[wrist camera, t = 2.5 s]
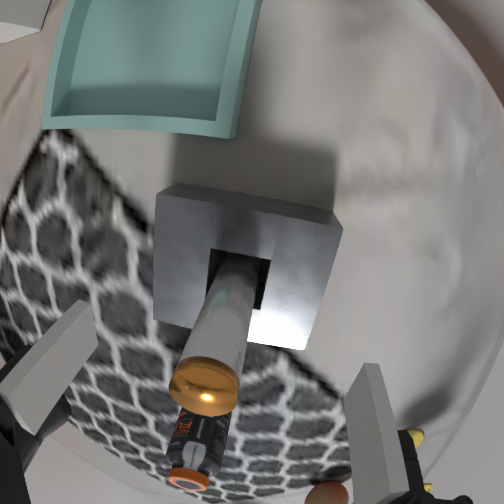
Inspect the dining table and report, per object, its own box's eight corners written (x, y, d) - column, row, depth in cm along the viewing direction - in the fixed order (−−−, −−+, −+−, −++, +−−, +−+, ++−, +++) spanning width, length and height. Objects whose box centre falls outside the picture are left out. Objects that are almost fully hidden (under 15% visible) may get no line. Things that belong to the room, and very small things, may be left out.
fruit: (355, 480, 39) (358, 514, 32) (323, 492, 42) (324, 524, 35) (329, 473, 38) (330, 511, 31) (296, 485, 41) (295, 520, 33)
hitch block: (169, 293, 26) (153, 319, 22) (176, 182, 22) (156, 193, 18) (301, 320, 25) (304, 350, 22) (333, 211, 21) (343, 228, 18)
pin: (224, 268, 24) (169, 406, 11) (228, 237, 23) (167, 365, 10) (257, 275, 24) (232, 421, 11) (264, 243, 23) (241, 382, 10)
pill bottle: (194, 384, 30) (166, 468, 20) (240, 404, 31) (226, 488, 21) (178, 407, 33) (152, 480, 22) (220, 425, 33) (204, 498, 23)
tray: (63, 127, 20) (41, 129, 18) (92, -10, 15) (74, -19, 12) (235, 138, 20) (228, 138, 17) (267, -23, 14) (265, -42, 12)
